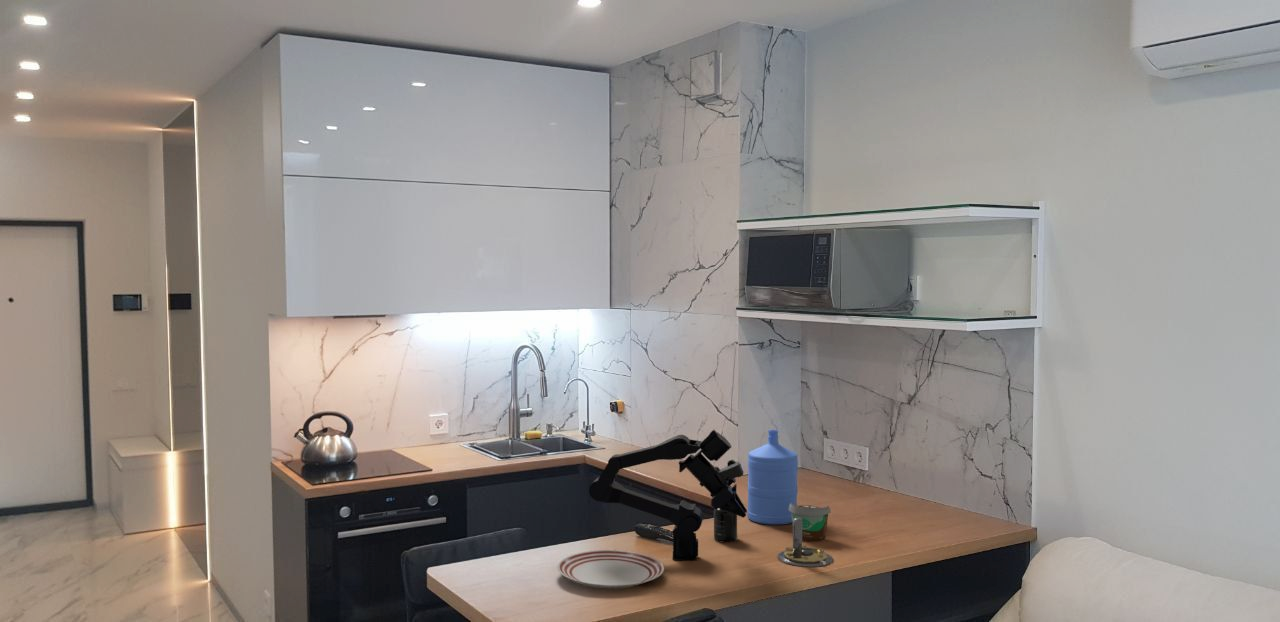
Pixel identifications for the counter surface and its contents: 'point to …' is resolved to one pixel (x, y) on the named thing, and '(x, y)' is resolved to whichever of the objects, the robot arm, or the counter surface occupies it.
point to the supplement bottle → (725, 525)
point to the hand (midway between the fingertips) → (745, 514)
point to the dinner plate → (610, 568)
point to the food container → (811, 521)
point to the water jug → (772, 482)
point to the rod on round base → (796, 551)
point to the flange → (805, 552)
